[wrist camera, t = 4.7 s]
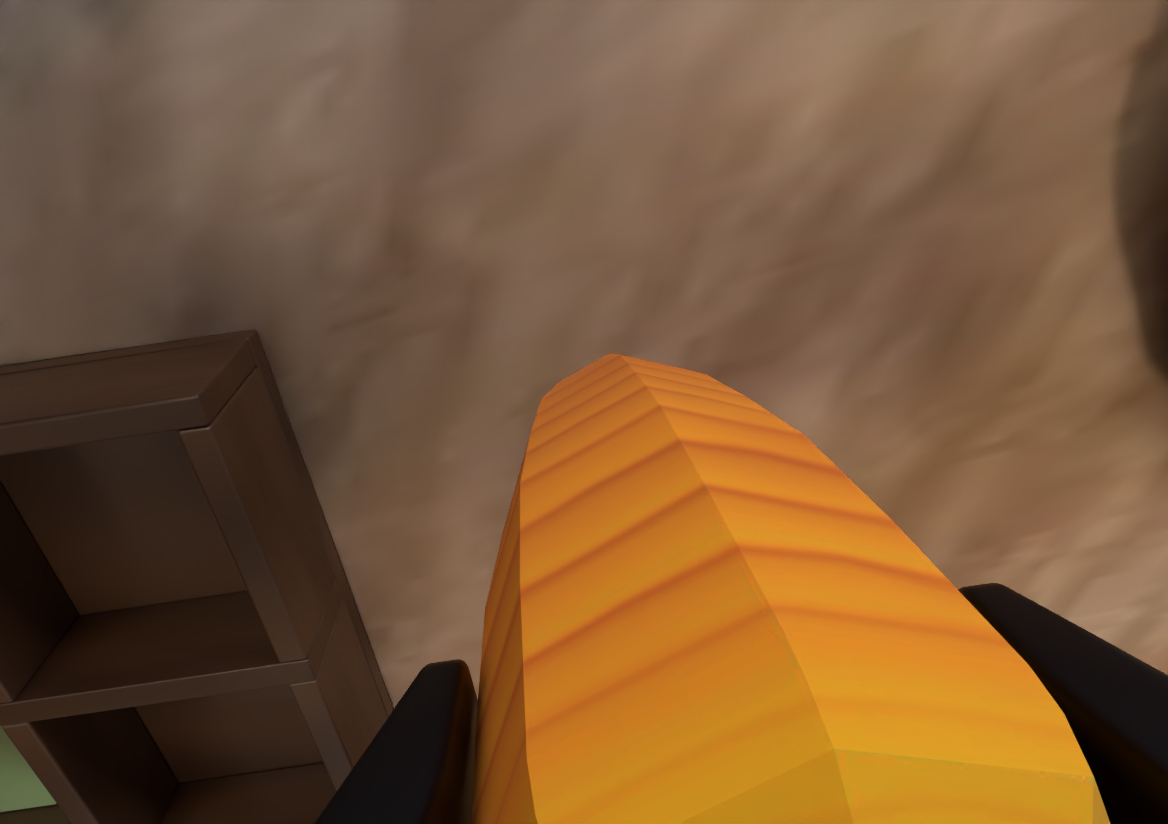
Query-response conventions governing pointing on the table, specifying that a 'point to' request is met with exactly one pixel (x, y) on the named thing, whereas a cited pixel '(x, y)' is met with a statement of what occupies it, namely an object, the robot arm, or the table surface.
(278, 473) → the wooden compartment organizer
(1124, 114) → the table surface
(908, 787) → the carrot
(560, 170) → the table surface
